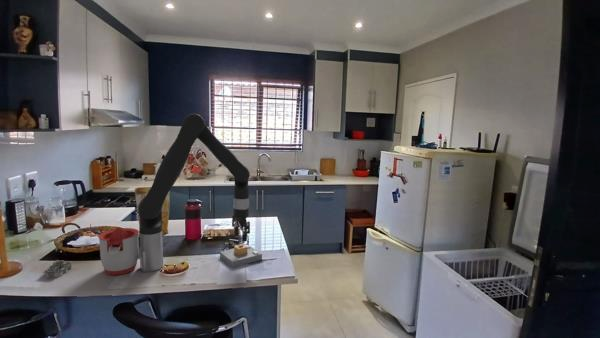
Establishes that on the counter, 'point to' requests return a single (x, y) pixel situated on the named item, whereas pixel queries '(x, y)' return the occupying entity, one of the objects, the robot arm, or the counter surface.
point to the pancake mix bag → (142, 193)
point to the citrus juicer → (119, 250)
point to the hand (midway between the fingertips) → (240, 238)
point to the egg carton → (57, 269)
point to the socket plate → (240, 257)
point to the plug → (240, 249)
